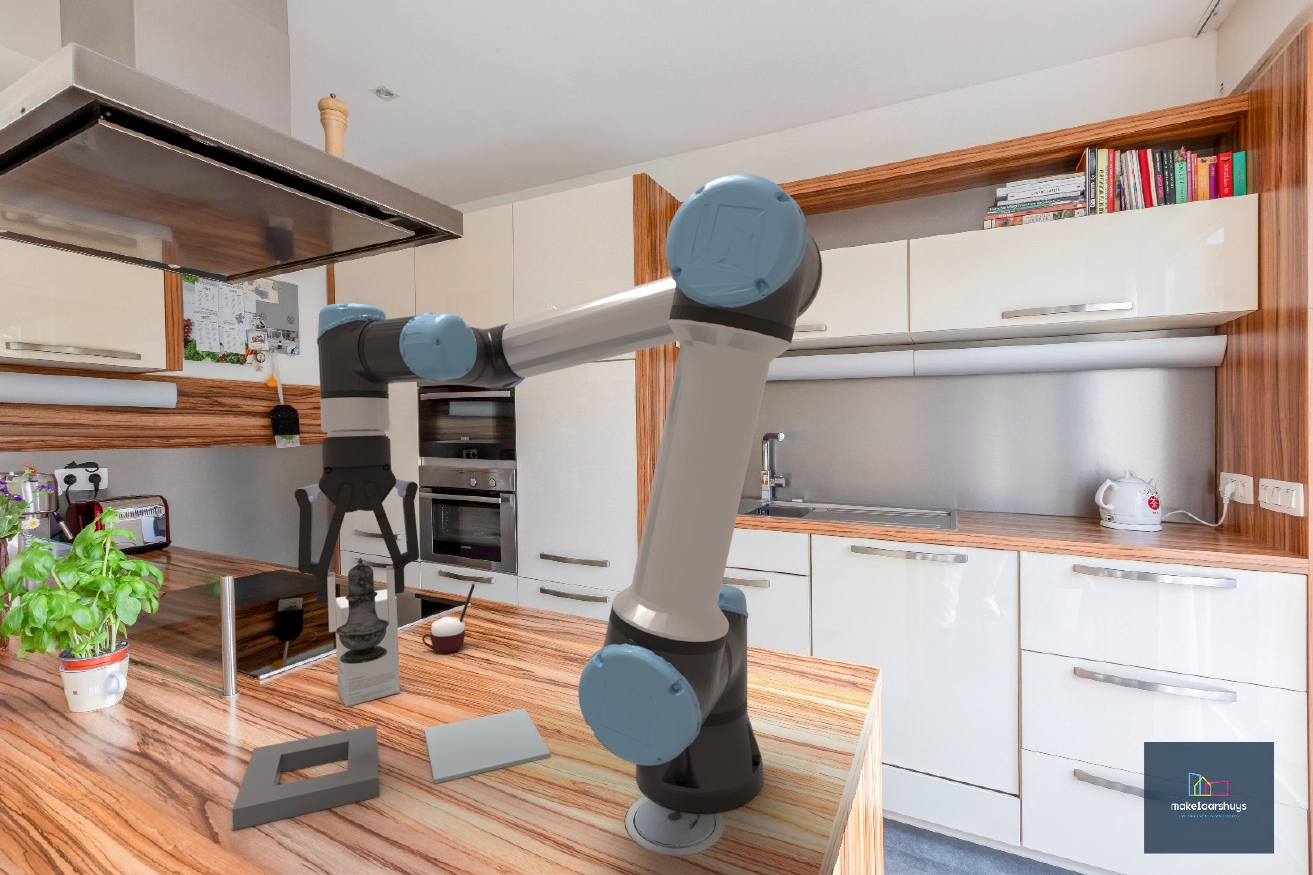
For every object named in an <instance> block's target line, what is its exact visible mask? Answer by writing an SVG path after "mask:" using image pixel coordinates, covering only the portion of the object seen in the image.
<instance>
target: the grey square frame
mask: <svg viewBox="0 0 1313 875" xmlns="http://www.w3.org/2000/svg"><path fill="white" fill-rule="evenodd" d="M377 727H378V726H377V724H375V725H370V726H365V727H364V726H363V727H359V728H353V729H349V730H345V731H344V730H343V731H338V732H333V733H328V734H323V735H316V736H312V737H311V736H310V737H306V738H301V739H294V740H290V741H285V742H279V743H275V744H270V745H264V746H259V747H254V748H253V750H252V753H251V756H250V758H249V762H248V765H247V768H246V770H245V772H244V776H243V779H242V781H241V784H240V786H239V787H240V788H239V790H238V793H237V796H236V799H235V802H234V804H233V807H232V809H231V810H232V831H236V830H242V829H246V828H249V827H254V826H259V825H262V824H266V823H272V822H275V821H279V820H280V821H281V820H283V819H288V818H294V817H297V816H302V815H305V814H309V813H315V812H318V811H323V810H327V809H330V808H336V807H339V806H344V805H345V806H346V805H349V804H353V803H357V802H362V801H366V800H371V799H374V798H379V796H380V795H379V792H380V791H379V790H380V789H379V764H378V762H379V757H378V755H379V754H378V731H377V730H378V729H377ZM342 760H347V770H343V771H342V770H341V771H337V772H334V773H328V774H324V775H320V776H319V775H318V776H315V777H310V778H304V779H300V780H295V781H291V782H285V783H282V784H279V782H280V778H281V775H282V773H284V772H289V771H295V770H300V769H304V768H309V767H315V766H318V765H324V764H329V763H335V762H339V761H342Z"/></svg>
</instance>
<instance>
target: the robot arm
mask: <svg viewBox="0 0 1313 875" xmlns="http://www.w3.org/2000/svg"><path fill="white" fill-rule="evenodd" d="M665 258H666V263H667V266H668V270H669V272H670V273H669V274H670V276H667V277H663V278H660V279H655V280H651V281H649V282H646V283H642V284H639V285H635V286H632V287H629V288H625V289H622V290H617V291H614V292H610V293H607V294H604V295H601V296H597V297H593V298H589V299H587V300H586V299H585V300H583V301H581V302H575V303H573V304H572V303H571V304H570V305H566V306H562V307H559V308H555V309H552V310H548V311H545V312H542V313H537V314H535V315H530V316H528V317H523V318H521V319H517V320H514V321H510V322H508V323H504V324H501V325H497V326H494V327H493V326H492V327H490V328H489V327H488V328H479V327H474V326H473V327H472V326H470V325H469V324H468V323H466V322H465V321H464V319H463V318H462V317H461V316H460V315H458V314H454V313H451V312H444V313H442V312H441V313H435V312H425V313H422V314H421V313H420V314H417V315H411V316H404V317H396V318H388V319H387V315H386V313H385V311H384V310H383V309H382V308H380V307H377V306H374V305H369V304H364V303H363V304H361V303H353V302H350V303H349V302H348V303H333V304H328V305H325V306H324V307H322V309H321V310H320V311H319V314H318V325H317V326H318V327H317V338H316V344H317V346H318V347H317V348H318V370H319V372H318V373H319V392H320V399H319V400H320V402H319V403H320V404H319V405H320V423H321V424H320V425H321V428H320V429H321V430H320V431H321V432H323V433H327V434H326V435H327V436H326V437H324V438H323V440H321V454H322V474H321V477H320V479H319V480H318V483H314V484H311V485H308V486H306V487H303V486H302V487H298V488H297V489H295V491H294V494H293V495H294V497H295V500H296V502H297V505H298V508H299V528H298V557H297V558H298V559H297V560H298V564H297V565H298V566H297V567H298V568H297V569H298V571H299V573H300V574H309V575H311V576H314V577H315V580H316V600H317V602H318V604H321V605H322V604H327V608H328V633H334V632H335V633H336V628H337V619H336V598H337V597H336V596H337V595H336V572H335V571H332V572H329V569H330V565H331V562H332V558H333V555H334V552H335V548H336V545H337V541H338V539H339V535H340V532H341V529H342V528H341V527H342V525H343V521H344V518H345V515H346V514H347V513H348V514H349V513H354V512H357V511H364V512H371V511H373V514H374V517H375V519H376V522H377V525H378V526H379V527H378V528H379V530H380V533H381V536H382V538H383V540H384V544H385V546H386V548H387V550H388V553H389V557H390V560H391V561H392V565H388V566H386V567H385V568H386V569H385V570H386V589H387V599H388V620H389V623H396V608H395V596H396V594H403V593H404V592H405V568H406V566H407V565H408V564H411V563H412V562H417V561H418V560H419V558H420V550H419V540H418V538H419V537H418V530H417V528H418V527H417V517H416V506H415V499H416V496H417V493H418V489H419V486H418V484H417V482H415V481H413V480H409V481H408V480H407V481H406V480H403V479H398V478H396V476H395V474H394V473H393V470H392V458H391V456H392V455H391V453H392V452H391V438H389V435H387V434H386V433H385V432H388V431H389V430H390V429H391V425H390V424H391V423H390V422H391V420H390V400H389V398H390V396H389V395H390V394H389V384H400V383H401V384H402V383H403V384H404V383H432V384H434V383H435V384H445V385H456V386H457V385H459V386H469V387H470V386H471V387H479V388H487V389H491V390H501V389H511V388H515V387H517V386H518V385H520V384H521V383H522V382H523V381H524V380H525V379H528V378H532V377H535V376H539V375H543V374H548V373H551V372H556V371H560V370H563V369H568V368H572V367H576V366H582V365H585V364H589V363H592V362H597V361H601V360H605V359H609V358H613V357H616V356H617V357H618V356H622V355H627V354H630V353H635V352H639V351H642V350H647V349H650V348H655V347H659V346H663V345H667V344H671V343H674V342H675V343H676V342H678V343H679V351H678V355H677V360H676V365H675V370H674V375H673V379H672V380H673V381H672V385H671V390H670V395H669V400H668V405H667V409H666V415H665V419H664V425H663V428H662V435H661V439H660V443H659V448H658V454H657V457H656V458H657V460H656V464H655V469H654V474H653V479H652V484H651V488H650V493H649V497H648V498H649V499H648V502H647V508H646V513H645V519H644V523H643V529H642V533H641V538H640V543H639V547H638V552H637V553H638V554H637V557H636V563H635V568H634V574H633V577H632V582H631V585H629V586H628V587H627V588H624V589H623V590H621V591H619V592H618V593H617V594H616V595H615V596H614V597H613V600H612V605H611V609H610V613H609V618H608V622H607V628H606V632H605V637H604V642H603V646H602V647H601V648H600V649H598V650H597V651H595V652H594V653H593V654H592V655H590V659H589V660H588V661H587V663H586V665H585V666H584V668H583V669H582V672H581V674H580V677H579V682H578V688H577V689H578V690H577V691H578V696H577V697H578V703H579V707H580V712H581V715H582V717H583V719H584V722H585V724H586V725H587V726H588V727H590V730H592V731H593V736H594V738H595V739H596V740H597V741H598V743H599V744H600V745H601V746H603V747H604V748H605V749H606V750H607V751H609V753H611V754H613V756H616V757H617V758H619V759H622V760H624V761H625V762H628V763H632V764H633V765H634V764H635V778H636V779H635V780H636V783H637V786H638V787H639V789H640V790H641V791H642V793H644V795H645V796H646V797H648V798H649V799H651V800H652V801H653V802H655V803H658V804H659V805H661V806H664V807H667V808H669V809H672V810H677V811H682V812H686V813H687V812H688V813H695V814H696V813H697V814H698V813H700V814H703V813H704V814H705V813H708V814H711V813H717V812H724V811H729V810H732V809H736V808H738V807H740V806H742V805H745V804H746V803H748V802H750V801H751V800H753V799H754V798H755V797H756V796H757V794H758V793H759V792H760V790H762V787H763V782H764V766H763V758H762V754H761V750H760V747H759V744H758V742H757V738H756V734H755V732H754V729H753V726H752V722H751V720H750V716H749V714H748V713H749V712H748V619H749V613H748V608H747V597H746V595H745V593H744V591H743V590H741V589H740V588H738V587H736V586H733V585H729V584H727V583H726V584H725V583H723V580H724V575H725V571H726V567H727V562H728V557H729V553H730V550H731V549H730V548H731V544H732V539H733V534H734V531H735V526H736V521H737V517H738V512H739V508H740V503H741V499H742V493H743V489H744V484H745V479H746V475H747V471H748V465H749V462H750V457H751V452H752V448H753V443H754V438H755V434H756V430H757V426H758V419H759V416H760V410H761V407H762V400H763V397H764V393H765V387H766V384H767V380H768V374H769V369H770V364H771V363H772V361H774V360H775V358H777V357H779V356H781V355H782V354H783V353H785V352H786V351H788V350H789V349H791V347H792V342H793V337H794V335H795V334H794V333H795V328H796V324H797V320H798V318H800V317H801V316H803V315H804V313H806V311H807V310H808V309H809V308H810V307H811V305H812V304H813V302H814V300H815V299H816V298H817V296H818V293H819V290H820V288H821V285H822V278H823V261H822V260H823V259H822V255H821V252H820V249H819V247H818V244H817V242H816V241H815V239H814V237H813V236H812V234H811V232H810V229H809V227H808V225H807V220H806V217H805V215H804V212H803V210H802V209H801V207H800V205H799V204H798V203H797V201H796V200H795V199H794V198H793V197H792V196H791V195H790V194H788V193H787V192H786V191H785V189H783V188H782V187H781V186H780V185H778V184H777V183H776V182H774V181H771V180H770V179H768V178H766V177H763V176H759V175H755V174H751V173H750V174H749V173H747V174H746V173H735V174H729V175H724V176H720V177H717V178H715V179H713V180H711V181H708V182H707V183H704V185H702V186H701V187H699V188H698V189H697V190H696V191H695V192H692V193H691V194H690V195H689V196H688V197H687V198H686V199H685V200H684V201H683V202H682V204H680V206H679V207H678V209H677V210H676V212H675V214H674V216H673V218H672V219H671V222H670V225H669V227H668V231H667V235H666V240H665ZM394 488H395V489H396V490H397V495H398V496H399V497H400V498H402V510H403V511H402V512H403V521H404V522H403V523H404V531H405V534H404V535H405V543H406V551H404V552H402V553H401V550H400V548H399V546H398V542H397V540H396V537H395V534H394V531H393V529H392V527H391V524H390V521H389V518H388V515H387V513H386V510H385V508H384V505H383V502H384V501H385V500H386V498H387V497H388V495H389V494H390V493H391V491H392V490H393V489H394ZM321 492H322V493H323V495H325V497H326V498H327V499H328V500H329V501H330V502H331V504H332V505H333V506H334V510H333V513H332V517H331V520H330V524H329V526H328V527H329V528H328V529H327V533H326V537H325V541H324V544H323V546H322V550H321V552H320V556H319V560H318V562H316V561H312V552H313V551H312V548H313V547H312V546H313V515H314V514H313V513H314V512H313V511H314V510H313V504H315V503H317V501H318V494H319V493H321Z"/></svg>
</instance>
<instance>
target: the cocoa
mask: <svg viewBox="0 0 1313 875" xmlns="http://www.w3.org/2000/svg"><path fill="white" fill-rule="evenodd" d="M474 589H475V583H472V584H471V586H470V589H469V592H468V594H467V597H466V599H465V600H466V601H465V603H464V605H463V609H462V610H461V612H462V613H461V615H460V617H459V618H457V617H453V616H452V617H451V616H443V617H441V618H440V619H437V620H435V621H433V622H432V623H431V631H430V634H429V633H426V634H423V636H422V638H421V639H422V640H421V641H422V643H423V644H424V646H426V647H427V648H429V649H432V650H435V651H436V652H438V653H439V654H453V653H455V652H457V651H459V649H461V647H462V646H463V645H464V642H465V636H466V623H465V621H464V617H465V615H466V612H467V609H468V607H469V603H470V601H471V597H472V595H473V591H474ZM427 637H428V638H430V641H431V644H429V643H427V642H426V640H425V638H427Z"/></svg>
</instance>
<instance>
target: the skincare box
mask: <svg viewBox="0 0 1313 875" xmlns="http://www.w3.org/2000/svg"><path fill="white" fill-rule="evenodd" d="M374 591H375V592H377V596H375V610H376V613H377V616H378V618H379V619H382V620H386V621H388V622H389V620H388V599H387V588H386V589H379V590H374ZM346 596H347V595H346ZM346 596H340V597H336V619H337V628H338V627H340V626H342V625H344V624H345V623H346V622H347V619H348V615H349V604H348V600H347V599H345V598H346ZM395 608H396V623H389V625H388V626H387V627H386V634H385V637H384V639H383V640H382V641H381V642H380V643H379V644H378V645H376V646H381V647H383V648H385V649H386V650H387V654H386V655H385V656H383V657H381V658H379V659H376V660H373V661H369V662H365V663H357V664H347V663H343V662H341V661H340V657H341V656H342V655H343V654H345V653H346V652H347V651H349V650H350V649H347V648H346V647H344V646H343V645H342V643H341V641H340V640H339V634H337V633H336V632H335V645H336V674H337V676H336V677H337V693H338V695H339V697H340V699H341V700H342V702H343V704H344V706H345V707H346V708H347V707H351V706H354V705H358V704H362V703H366V702H369V701H373V700H377V699H381V698H383V697H388V696H391V695H395V694H399V693H400V692H401V682H400V677H401V676H400V655H399V632H398V629H399V628H398V597H397V596H396V595H395ZM337 628H336V629H337Z"/></svg>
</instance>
